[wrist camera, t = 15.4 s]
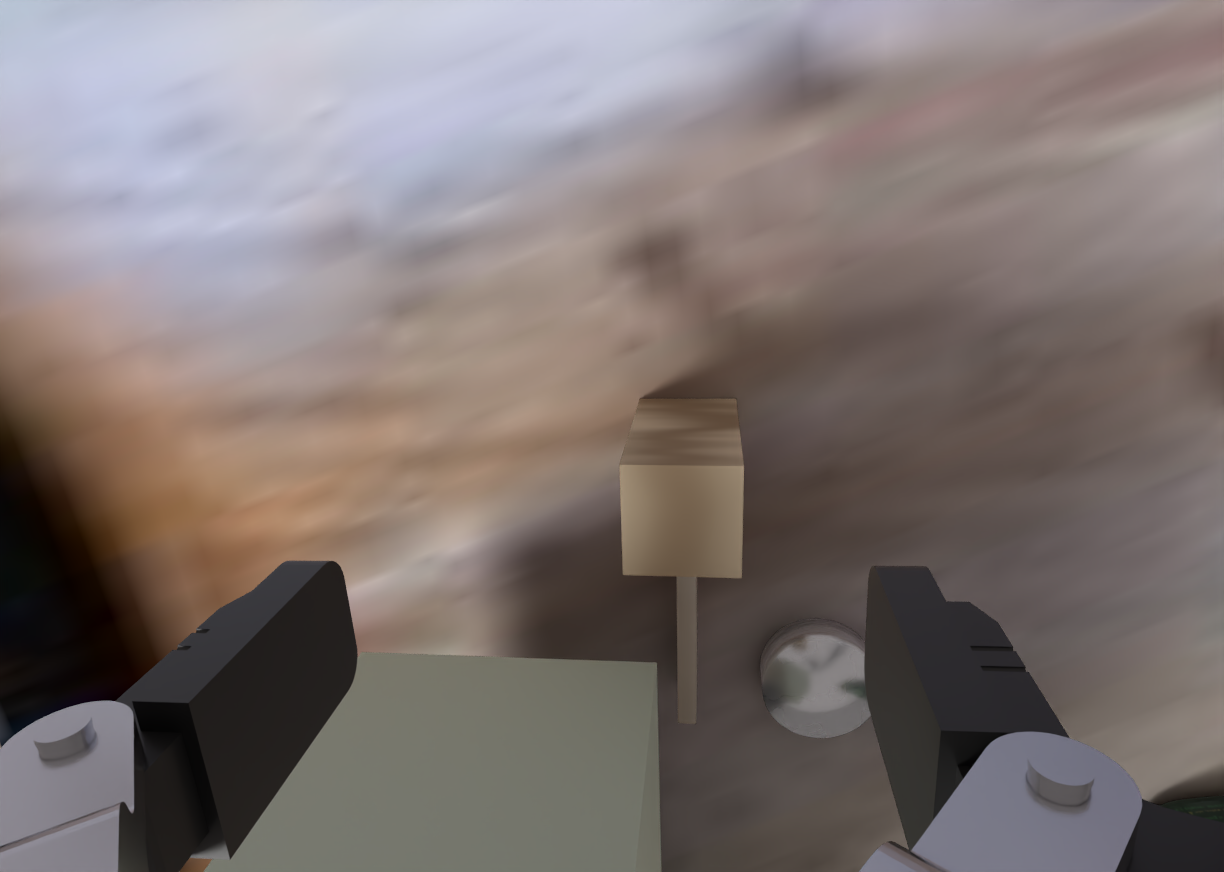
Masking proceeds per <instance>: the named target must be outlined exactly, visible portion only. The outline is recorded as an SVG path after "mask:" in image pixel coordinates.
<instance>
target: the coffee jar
mask: <svg viewBox="0 0 1224 872" xmlns="http://www.w3.org/2000/svg"><path fill="white" fill-rule="evenodd" d="M1160 806H1162V807H1165V808H1168V809H1172V810H1175V811H1179V812H1183V813H1187V814H1191V815H1195V816H1198V817H1202V818H1206V819H1210V820H1214V821H1218V822H1222V823H1224V796H1210V797H1200V798H1191V799H1183V800H1177V801H1172V802H1168V803H1165V804H1163V805H1160Z"/></svg>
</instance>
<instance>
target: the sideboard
mask: <svg viewBox="0 0 1224 872" xmlns="http://www.w3.org/2000/svg"><path fill="white" fill-rule="evenodd" d="M204 872H661V831H660V786H659V740H658V695H657V663H656V662H627V661H599V660H570V659H542V658H513V657H485V656H456V655H428V654H399V653H371V652H362V653H361V654H360V656H359V657H358V658H357V668H356V673H355V677H354V680H353V683H352V685H351V687H350V689H349V691H348V692H347V694H346V695H345V696H344V698H343V699H342V701H341V702H340V704H339V705H338V706H337V708H336V709H335V711H334V712H333V714H332V715H331V716H330V718H329V719H328V721H327V722H326V724H325V725H324V726H323V728H322V729H321V731H320V732H319V734H318V735H317V737H316V738H315V739H314V741H313V742H312V744H311V745H310V747H309V748H308V749H307V751H306V752H305V754H304V755H303V757H302V758H301V759H300V761H299V762H298V764H297V765H296V767H295V768H294V769H293V771H292V772H291V774H290V775H289V777H288V778H287V779H286V781H285V782H284V784H283V785H282V787H281V788H280V789H279V791H278V792H277V794H276V795H275V797H274V798H273V799H272V801H271V802H270V804H269V805H268V807H267V808H266V809H265V811H264V812H263V814H262V815H261V817H260V818H259V819H258V821H257V822H256V824H255V825H254V827H253V828H252V829H251V831H250V832H249V834H248V835H247V837H246V838H245V840H244V841H243V842H242V844H241V845H240V847H239V848H238V850H237V851H236V852H235V854H234V855H233V857H232V858H231V860H222V859H212V861H211V862H210V864H209V865H208V866H207V868H206V869H205V871H204Z"/></svg>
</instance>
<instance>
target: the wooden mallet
mask: <svg viewBox="0 0 1224 872" xmlns="http://www.w3.org/2000/svg"><path fill="white" fill-rule="evenodd" d="M619 469H620V501H621V533H622V564H623V575H639V576H677V694H678V723H685V724H696V706H697V577H714V578H742V541H743V492H744V462H743V453H742V444H741V436H740V427H739V419H738V410H737V401H736V399H640V400H639V403H638V406H637V409H636V413H635V416H634V419H633V422H632V426H631V429H630V432H629V435H628V439H627V442H626V445H625V448H624V451H623V455H622V458H621V461H620V464H619Z"/></svg>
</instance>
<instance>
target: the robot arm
mask: <svg viewBox="0 0 1224 872" xmlns="http://www.w3.org/2000/svg"><path fill="white" fill-rule="evenodd" d="M196 630H197V631H196V633H191V634H190V635H189V636H188V637H187V638H186V639H185V640H183V641H182V642H181V643H180V644H179V645H178V649H177V650H172V651H171V652H170V653H169V654H168V655H167V656H166V657H164V658H163V659H162V660H161V661H160V662H159V663H158V664H157V665H155V666H154V667H153V668H152V669H151V670H150V671H149V672H148V673H146V674H145V675H144V676H143V677H142V678H141V679H140V680H139V681H138V682H136V683H135V684H134V685H133V686H132V687H131V688H130V689H129V690H127V691H126V692H125V693H124V694H123V695H122V696H121V697H120V698H118V699H117V700H116V701H115V702H114V701H96V702H89V703H84V704H79V705H76V706H72V707H68V708H66V709H63V710H60V711H57V712H55V713H52V714H50V715H48V716H46V717H44V718H42V719H40V720H38V721H36V722H34V723H32V724H30V725H29V726H27V727H25V728H24V729H23V730H21V731H20V732H18V733H17V734H16V735H14V736H13V737H12V738H11V739H10V740H8V741H7V742H6V743H5V745H4V746H3V747H2V748H1V749H0V872H179V871H180V870H181V868H182V867H183V866H184V864H185V863H186V862H187V860H188V859H189V858H206V859H222V860H231V858H232V857H233V855H234V854H235V852H236V851H237V850H238V848H239V847H240V845H241V844H242V842H243V841H244V840H245V838H246V837H247V835H248V834H249V832H250V831H251V829H252V828H253V827H254V825H255V824H256V822H257V821H258V819H259V818H260V817H261V815H262V814H263V812H264V811H265V809H266V808H267V807H268V805H269V804H270V802H271V801H272V799H273V798H274V797H275V795H276V794H277V792H278V791H279V789H280V788H281V787H282V785H283V784H284V782H285V781H286V779H287V778H288V777H289V775H290V774H291V772H292V771H293V769H294V768H295V767H296V765H297V764H298V762H299V761H300V759H301V758H302V757H303V755H304V754H305V752H306V751H307V749H308V748H309V747H310V745H311V744H312V742H313V741H314V739H315V738H316V737H317V735H318V734H319V732H320V731H321V729H322V728H323V726H324V725H325V724H326V722H327V721H328V719H329V718H330V716H331V715H332V714H333V712H334V711H335V709H336V708H337V706H338V705H339V704H340V702H341V701H342V699H343V698H344V696H345V695H346V694H347V692H348V691H349V689H350V687H351V685H352V683H353V680H354V677H355V673H356V668H357V645H356V640H355V634H354V629H353V623H352V618H351V612H350V607H349V601H348V596H347V590H346V585H345V579H344V575H343V572H342V569H341V567H340V566H339V565H338V563H336V562H334V561H286V562H284V563H282V564H281V565H280V566H279V567H278V568H277V569H275V570H274V571H273V572H272V573H271V574H270V575H269V576H268V577H267V578H266V579H265V580H263V581H262V582H261V583H260V584H259V585H258V586H257V587H256V588H255V589H254V590H253V591H251V592H249V593H247V594H245V595H244V596H242V597H240V598H238V599H236V600H234V601H233V602H231V603H229V604H227V605H225V606H223V607H221V608H220V609H218V610H217V611H216V612H215V613H214V614H213V615H212V616H210V617H209V618H208V619H207V620H206V621H205V622H204V623H203V624H201V625H200V626H199V627H198V628H197V629H196ZM864 676H865V689H866V696H867V702H868V706H869V710H870V714H871V717H872V721H873V724H874V728H875V731H876V735H877V738H878V742H879V745H880V749H881V752H882V756H883V759H884V763H885V766H886V770H887V773H888V777H889V780H890V784H891V787H892V791H893V794H894V798H895V801H896V805H897V808H898V812H899V815H900V819H901V822H902V826H903V829H904V833H905V837H906V840H907V844H908V847H909V850H908V849H906V848H904V847H902V846H900V845H898V844H897V843H895V842H892V841H889V842H886V843H884V844H882V845H881V846H880V847H879V848H878V849H877V850H876V851H875V852H874V853H873V854H872V856H871V857H870V858H869V859H868V861H867V862H866V863H865V865H864V866H863V867H862V868H861V870H860V871H859V872H1224V823H1222V822H1218V821H1214V820H1210V819H1206V818H1202V817H1198V816H1195V815H1191V814H1187V813H1183V812H1179V811H1175V810H1172V809H1168V808H1165V807H1162V806H1159V805H1156V804H1153V803H1151V802H1148V801H1146V800H1143V799H1142V797H1141V794H1140V791H1139V789H1138V787H1137V785H1136V784H1135V782H1134V780H1133V779H1132V778H1131V777H1130V775H1129V774H1128V773H1127V772H1126V771H1125V770H1124V769H1123V768H1122V767H1121V766H1120V765H1118V764H1117V763H1116V762H1115V761H1113V760H1112V759H1111V758H1109V757H1108V756H1106V755H1105V754H1103V753H1101V752H1100V751H1098V750H1096V749H1094V748H1092V747H1090V746H1088V745H1086V744H1083V743H1081V742H1079V741H1076V740H1073V739H1070V738H1069V736H1068V735H1067V733H1066V731H1065V730H1064V728H1063V727H1062V725H1061V723H1060V722H1059V720H1058V719H1057V717H1056V715H1055V714H1054V712H1053V711H1052V709H1051V707H1050V706H1049V704H1048V702H1047V701H1046V699H1045V698H1044V696H1043V694H1042V693H1041V691H1040V690H1039V688H1038V686H1037V685H1036V683H1035V682H1034V680H1033V678H1032V677H1031V675H1030V674H1029V672H1026V670H1025V665H1024V664H1023V662H1022V661H1021V659H1020V657H1019V656H1018V654H1017V653H1016V652H1015V651H1013V646H1012V645H1011V643H1010V641H1009V640H1008V638H1007V637H1006V635H1005V633H1004V632H1003V630H1002V628H1001V627H1000V625H999V624H998V622H996V621H995V620H993V619H992V618H991V617H989V616H988V615H987V614H985V613H984V612H982V611H981V610H980V609H978V608H977V607H975V606H974V605H973V604H971V603H970V602H946V600H945V598H944V597H943V595H942V593H941V591H940V589H939V587H938V585H937V583H936V582H935V580H934V578H933V576H932V574H931V572H930V570H929V569H928V568H927V567H923V566H872V567H871V570H870V573H869V580H868V598H867V617H866V637H865V656H864Z"/></svg>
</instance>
